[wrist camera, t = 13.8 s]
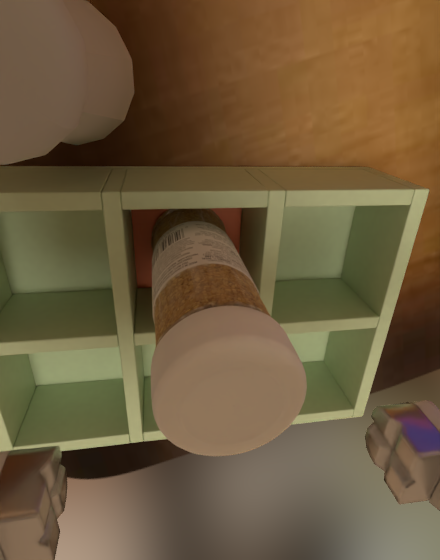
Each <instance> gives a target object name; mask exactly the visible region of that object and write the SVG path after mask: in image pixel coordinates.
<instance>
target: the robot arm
mask: <svg viewBox="0 0 440 560" xmlns="http://www.w3.org/2000/svg"><path fill="white" fill-rule="evenodd" d="M371 417H372V419H373V420H374V423H373V424H371V425H370V426H369V427H368V428H367V432H366V436H365V440H366V447H367V450H368V453H369V455H370V457H371V459H372V461H373V462H374V464H375V465H377V466H378V467H379V468H381V469H382V470H384V471H385V473H384V481H385V482H386V484H387V485H388V487H389V489H390V490H391V492H392V494H393V495H394V497H395V499H396V500H397V502H398V503H399V504H405V503H413V502H420V501H427V500H430V501H429V502H430V503H431V504H432V505H433V506H435V507H436V508H437V509H438V510H439V511H440V410H439V409H438V408H437V407H436V406H435V404H433V403H432V402H430V401H428V400H427V401H419V402H411V403H400V404H393V405H385V406H378V407H376V408H375V409H374V410H373V412H372V415H371ZM61 457H62V454H61V451H60V447H59V446H50V447H40V448H29V449H19V450H9V451H0V560H54V559H55V554H56V549H57V544H58V539H59V534H60V529H59V526H58V522H57V518H58V517H59V516H60V515H61V514H62V513H63V511H64V508H65V502H66V494H67V475H66V470H65V467H63V466H61V465H60V462H61Z"/></svg>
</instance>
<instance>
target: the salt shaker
mask: <svg viewBox="0 0 440 560" xmlns="http://www.w3.org/2000/svg"><path fill="white" fill-rule="evenodd" d="M133 95H134V80H133V66H132V58H131V56H130V54H129V52H128V50H127V48H126V46H125V44H124V42H123V40H122V38H121V36H120V34H119V32H118V30H117V28H116V26H115V25H113V24H112V23H111V22H110V21H109V20H108V19H107V18H106V17H105V16H104V15H102V14H101V13H100V12H99V11H98V10H97V9H96V8H95V7H94V6H93V5H92V4H90V3H89V2H88V1H86V0H0V165H7V164H11V163H15V162H19V161H23V160H27V159H31V158H35V157H39V156H43V155H46V154H47V153H49V152H50V151H51V150H52V149H53V148H54V147H55V146H56V145H57V144H59V143H60V142H64V143H68V144H73V145H81V144H85V143H89V142H93V141H97V140H101V139H104V138H105V137H106V136H107V135H109V134H110V133H111V132H112V131H113V130H114V129H115V128H117V127H118V126H119V125H120V124H121V123H122V122H123V121H124V120H125V117H126V115H127V112H128V109H129V106H130V103H131V101H132V98H133Z"/></svg>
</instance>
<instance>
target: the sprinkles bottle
mask: <svg viewBox="0 0 440 560" xmlns="http://www.w3.org/2000/svg"><path fill="white" fill-rule="evenodd" d="M151 237H152V238H151V247H152V250H153V255H152V310H153V320H154V323H155V337H156V348H155V351H154V354H153V357H152V363H151V399H152V410H153V415H154V419H155V421H156V423H157V426H158V428H159V429H160V431H161V432H162V433H163V435H164V436H165V437H166V438H167V439H168V440H169V441H171V442H172V443H173V444H175V445H176V446H178V447H180V448H182V449H184V450H186V451H189V452H191V453H195V454H200V455H207V456H227V455H234V454H239V453H243V452H247V451H250V450H253V449H255V448H258V447H260V446H262V445H263V444H266V443H268V442H270V441H271V440H273V439H274V438H276V437H277V436H278V435H280V434H281V433H282V432H283V431H285V430H286V429H287V428H288V427H289V426H290V425H291V423H292V422H293V421H294V420H295V418H296V417H297V415H298V414H299V412H300V410H301V408H302V406H303V403H304V400H305V396H306V391H307V381H306V373H305V370H304V367H303V364H302V362H301V360H300V358H299V356H298V354H297V353H296V351H295V349H294V347H293V345H292V343H291V342H290V340H289V338H288V336H287V334H286V332H285V331H284V329H283V328H282V327H281V326H280V324H279V323H278V322H276V321H275V320H274V319H273V318H272V317H271V316H270V314H269V313H268V311H267V309H266V307H265V305H264V304H263V301H262V300H261V298H260V294H259V291H258V289H257V287H256V286H255V284H254V282H253V280H252V278H251V276H250V274H249V272H248V270H247V269H246V267H245V265H244V263H243V261H242V260H241V258H240V256H239V254H238V252H237V250H236V248H235V246H234V244H233V242H232V241H231V239H230V238H229V236H228V235H227V233H226V230H225V226H224V224H223V222H222V220H221V219H220V218H219V216H218V215H217V214H216V213H215V212H214V211H213V210H212V209H210V208H202V209H168V210H167V211H165V212H164V213H163V214H162V216H160V217H159V218H158V219H157V221H156V223H155V225H154V227H153V230H152V235H151Z"/></svg>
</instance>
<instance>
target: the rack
mask: <svg viewBox="0 0 440 560" xmlns="http://www.w3.org/2000/svg"><path fill="white" fill-rule="evenodd" d="M428 193H429V189H427V188H424V187H422V186H419V185H416V184H413V183H411V182H408V181H405V180H402V179H400V178H397V177H394V176H392V175H389V174H386V173H383V172H381V171H378V170H375V169H372V168H370V167H233V166H0V451H9V450H19V449H29V448H40V447H50V446H59V447H60V451H66V450H75V449H84V448H92V447H101V446H110V445H118V444H127V443H130V442H131V443H135V442H142V441H143V440H144V441H152V440H161V439H167V438H166V437H165V436H164V435H163V433H162V432H161V431H160V429H159V428H158V426H157V423H156V421H155V419H154V415H153V410H152V399H151V363H152V357H153V354H154V351H155V348H156V337H155V323H154V320H153V310H152V255H153V250H152V247H151V238H152V237H151V235H152V230H153V227H154V225H155V223H156V221H157V219H158V218H159V217H160V216H162V214H163V213H164V212H165V211H167V210H168V209H202V208H210V209H212V210H213V211H214V212H215V213H216V214H217V215H218V216H219V218H220V219H221V220H222V222H223V224H224V226H225V230H226V233H227V235H228V236H229V238H230V239H231V241H232V242H233V244H234V246H235V248H236V250H237V252H238V254H239V256H240V258H241V260H242V261H243V263H244V265H245V267H246V269H247V270H248V272H249V274H250V276H251V278H252V280H253V282H254V284H255V286H256V287H257V289H258V291H259V294H260V298H261V300H262V301H263V304H264V305H265V307H266V309H267V311H268V313H269V314H270V316H271V317H272V318H273V319H274V320H275V321H276V322H278V323H279V324H280V326H281V327H282V328H283V329H284V331H285V332H286V334H287V336H288V338H289V340H290V342H291V343H292V345H293V347H294V349H295V351H296V353H297V354H298V356H299V358H300V360H301V362H302V364H303V367H304V370H305V373H306V381H307V391H306V396H305V400H304V403H303V406H302V408H301V410H300V412H299V414H298V415H297V417H296V418H295V420H294V421H293V422H292V423H291V424H299V423H309V422H317V421H326V420H334V419H343V418H351V417H361V416H363V414H364V410H365V407H366V403H367V400H368V397H369V393H370V390H371V386H372V383H373V380H374V376H375V373H376V370H377V366H378V363H379V359H380V356H381V353H382V349H383V346H384V342H385V339H386V336H387V332H388V329H389V325H390V322H391V319H392V315H393V312H394V308H395V305H396V302H397V298H398V295H399V291H400V288H401V285H402V281H403V278H404V274H405V271H406V268H407V264H408V261H409V257H410V254H411V251H412V247H413V244H414V241H415V237H416V234H417V230H418V227H419V224H420V220H421V217H422V213H423V210H424V207H425V203H426V200H427V196H428Z"/></svg>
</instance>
